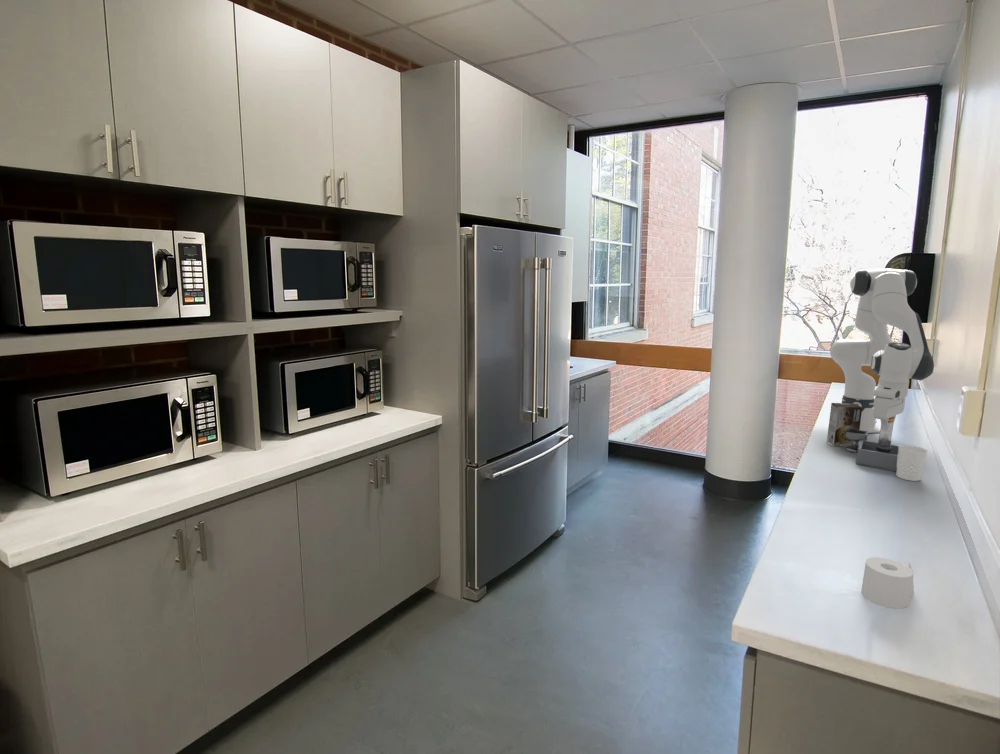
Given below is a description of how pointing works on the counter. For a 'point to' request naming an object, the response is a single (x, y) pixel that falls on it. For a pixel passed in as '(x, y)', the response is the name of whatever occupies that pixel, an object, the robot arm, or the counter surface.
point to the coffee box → (843, 422)
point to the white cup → (910, 462)
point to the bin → (876, 456)
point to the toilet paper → (888, 582)
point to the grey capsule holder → (855, 439)
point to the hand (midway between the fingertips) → (886, 428)
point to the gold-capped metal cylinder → (886, 437)
